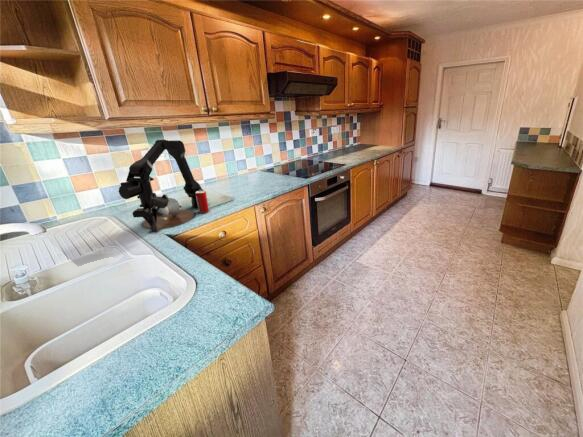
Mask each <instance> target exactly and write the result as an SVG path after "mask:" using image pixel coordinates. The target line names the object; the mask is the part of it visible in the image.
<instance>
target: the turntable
mask: <svg viewBox="0 0 583 437" xmlns="http://www.w3.org/2000/svg"><path fill="white" fill-rule="evenodd" d="M170 215H171V217H172V218H169V217H170ZM194 217H195V213H194V211H192V210H189V209H180V212H179V214H178V215H172V214H168V215H167V216H166V218H168V219H166V220H164V219H160V218H161V217H157V223H156V221H155V218H154V216H153V223H154V225H153V226H151V225H150V224H149V223H148V222H147V221H146V220H145V219H144V220H143V222H142V225H143V227H144V228H146V229H150V230H149V231H148V233H158V232H160V231H161V230H162V229H169V228H174V227H177V226H180V225H183V224H186V223H188V222H189V221H191V220H193V219H194Z"/></svg>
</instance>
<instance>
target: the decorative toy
mask: <svg viewBox="0 0 583 437" xmlns="http://www.w3.org/2000/svg"><path fill="white" fill-rule="evenodd" d="M168 199H169V202H168V206H166V207H165V208H160V209H159V210H158V212H157V217H161V218H160V219H164V220H166V219H168V218H166V216H167V215H168V214H172V215H178V214H179V212H180V210H181V208H182V205H180V202H179V200H177V199H176V198H173V197H168ZM169 218H172V217H171V215H170V217H169Z"/></svg>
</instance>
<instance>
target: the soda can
mask: <svg viewBox="0 0 583 437" xmlns="http://www.w3.org/2000/svg"><path fill="white" fill-rule="evenodd" d="M196 200H197V205H198V209H197V210H198V213H199V214H207V213H209V212H210V206H209V203H208V197H207V192H206V190H204V189H203V190H201V191H197V192H196Z"/></svg>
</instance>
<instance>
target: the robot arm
mask: <svg viewBox="0 0 583 437" xmlns="http://www.w3.org/2000/svg"><path fill="white" fill-rule="evenodd" d="M164 151H167V153H168V154H169V155H170V157H172V158H173V159H174V160H175V163H176V165H177V167H178V169H179V172H180V174H181V177H182V178H183V181H184V186H183V187H182V188H183V190H184V194H186V195H187V196H188V198H189V199H190V198H191V201H190V202H191V208H192V209H196V210H198V205H197V200H196V192H197V191H201V190H204V189H203V188H202V186H201V184H200V183H199V182H198V181H197V180H195V177H194V175H193V173H192V171H191V168H190V166H189V163H188V161H187V159H186V148H185V143H184V142H183V141H181V140H178V139H177V140H176V139H175V140H168V139H155V141H154V143H153V145H152V146H151V147H150V148H149V150H148V151H147V152H146V153H145V154H144V155H143V156H142V158H140V159H138V160H136V161H134V162H133V163H132V164H130V166H129V168H128V174H127V177H126V180H125V182H123V181H122V182H120V183H119V184H120V186H119V187H118V194H119V195H120V197H121V198H122V199H124V200H130V199H131V198H135V197H136V198H137V199H139V201H140V204H139V207H138V208H136V209H135V210H133V211H132V213H131V214H132V217H133V218H134V219H135V218H142V219H144V221H145V220H146V221H147V222H148V223H149V224H150V225H151V226H153V225H154V223H153V216H154V218H155V221H156V223H157V212H158V210H159V209H160V208H165V207H166V206H168V202H169V199H168V198H169V196H168V194H163V195H159V196H158V195H157V193H156V192H154V191H153V187H152V183H151V181H152V182H153V181H154V180H155V178H153V177H151V174H152V172H153V169H154V168H153V166H154V164H155V163H156V162H157V160H158V159H159V158H160V157H161V155H162V154H163V153H164Z"/></svg>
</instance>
